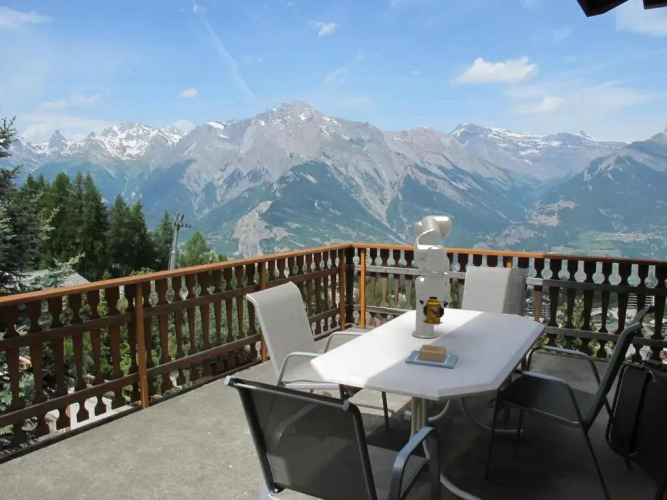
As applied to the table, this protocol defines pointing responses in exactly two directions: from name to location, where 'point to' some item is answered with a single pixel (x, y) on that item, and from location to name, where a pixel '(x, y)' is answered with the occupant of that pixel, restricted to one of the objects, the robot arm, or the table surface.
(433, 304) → the condiment
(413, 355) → the board
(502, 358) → the table surface
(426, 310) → the robot arm
